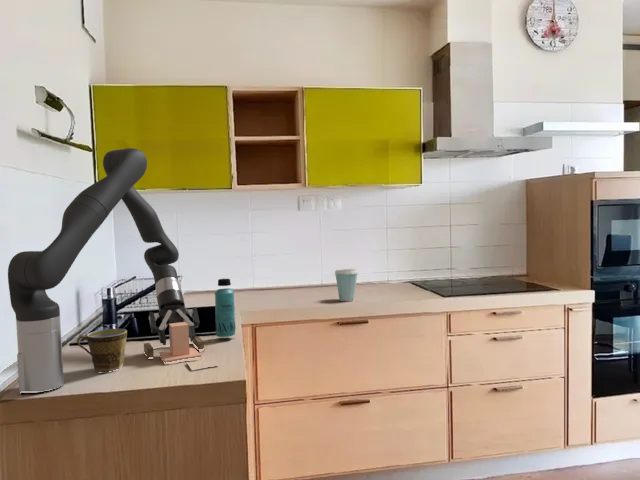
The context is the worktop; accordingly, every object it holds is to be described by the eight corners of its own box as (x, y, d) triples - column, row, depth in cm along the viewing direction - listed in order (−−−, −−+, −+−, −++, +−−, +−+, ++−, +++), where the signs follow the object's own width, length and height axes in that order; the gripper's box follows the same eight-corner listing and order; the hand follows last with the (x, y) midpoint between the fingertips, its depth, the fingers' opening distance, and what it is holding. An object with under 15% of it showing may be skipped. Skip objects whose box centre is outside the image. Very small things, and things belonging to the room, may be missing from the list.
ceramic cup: (133, 363, 139) (132, 327, 138) (120, 374, 129) (118, 336, 128) (87, 365, 139) (85, 329, 138) (70, 376, 129) (68, 338, 128)
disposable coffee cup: (331, 301, 229) (330, 268, 228) (343, 297, 238) (342, 266, 237) (350, 303, 223) (349, 269, 222) (362, 299, 231) (362, 267, 231)
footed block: (164, 365, 136) (163, 329, 136) (159, 357, 145) (157, 323, 145) (201, 360, 141) (199, 325, 140) (193, 352, 149) (192, 319, 149)
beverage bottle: (212, 339, 163) (209, 279, 162) (229, 335, 168) (226, 276, 167) (223, 342, 159) (220, 280, 158) (240, 338, 163) (237, 278, 162)
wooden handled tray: (147, 359, 142) (147, 349, 142) (144, 353, 149) (143, 343, 149) (204, 351, 149) (204, 341, 149) (198, 345, 156) (197, 336, 156)
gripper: (145, 290, 146) (153, 337, 136) (194, 285, 152) (205, 330, 142) (144, 305, 151) (151, 352, 141) (191, 300, 157) (202, 345, 147)
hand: (178, 341), depth 142 cm, fingers open, 7 cm apart
